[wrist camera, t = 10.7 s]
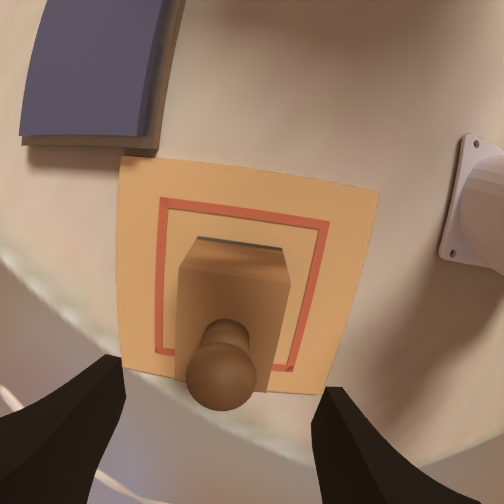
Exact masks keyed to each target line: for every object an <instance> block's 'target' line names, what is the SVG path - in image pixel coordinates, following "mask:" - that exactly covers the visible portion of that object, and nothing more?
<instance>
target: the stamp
mask: <svg viewBox="0 0 504 504" xmlns="http://www.w3.org/2000/svg"><path fill="white" fill-rule="evenodd" d="M290 287H291V280H290V277H289V273H288V269H287V265H286V261H285V257H284V254H283V250H282V248H279V247H272V246H265V245H259V244H252V243H245V242H238V241H231V240H224V239H216V238H209V237H202V236H198V237H197V238H196V240H195V242H194V243H193V245H192V246H191V248H190V250H189V251H188V253H187V255H186V256H185V258H184V260H183V261H182V263H181V265H180V266H179V271H178V288H177V307H176V332H175V380H177V381H183V382H186V383H187V387H188V390H189V392H190V394H191V395H192V397H193V398H194V399H195V400H196V401H197V402H198V403H199V404H201V405H202V406H204V407H206V408H208V409H211V410H215V411H229V410H233V409H235V408H238V407H240V406H241V405H243V404H244V403H245V402H246V401H247V400H248V399H249V398H250V397H251V395H252V393H253V392H264V393H266V390H267V386H268V382H269V378H270V374H271V370H272V366H273V362H274V358H275V354H276V349H277V345H278V341H279V336H280V332H281V328H282V323H283V319H284V314H285V310H286V305H287V301H288V296H289V292H290Z"/></svg>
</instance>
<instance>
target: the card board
mask: <svg viewBox="0 0 504 504" xmlns="http://www.w3.org/2000/svg"><path fill="white" fill-rule="evenodd" d="M379 196H380V193H378V192H374V191H370V190H365V189H360V188H356V187H351V186H346V185H341V184H336V183H331V182H326V181H321V180H315V179H310V178H304V177H299V176H293V175H287V174H281V173H274V172H268V171H262V170H255V169H248V168H241V167H234V166H226V165H218V164H210V163H201V162H192V161H183V160H173V159H162V158H151V157H138V156H121V160H120V172H119V185H118V203H117V230H116V279H117V306H118V323H119V337H120V348H121V358H122V367H125V368H129V369H133V370H138V371H142V372H147V373H152V374H157V375H162V376H167V377H172V378H175V332H176V307H177V288H178V271H179V266H180V265H181V263H182V261H183V260H184V258H185V256H186V255H187V253H188V251H189V250H190V248H191V246H192V245H193V243H194V242H195V240H196V238H197V237H198V236H202V237H209V238H216V239H224V240H231V241H238V242H245V243H252V244H259V245H265V246H272V247H279V248H282V250H283V254H284V257H285V261H286V265H287V269H288V273H289V277H290V280H291V287H290V292H289V296H288V301H287V305H286V310H285V314H284V319H283V323H282V328H281V332H280V336H279V341H278V345H277V349H276V354H275V358H274V362H273V366H272V370H271V374H270V378H269V382H268V386H267V390H266V391H275V392H287V393H302V394H321V393H322V390H323V387H324V385H325V382H326V380H327V377H328V374H329V371H330V369H331V366H332V363H333V360H334V358H335V355H336V352H337V349H338V346H339V343H340V340H341V337H342V334H343V331H344V328H345V325H346V322H347V319H348V315H349V312H350V309H351V306H352V302H353V299H354V296H355V292H356V289H357V285H358V282H359V278H360V275H361V271H362V267H363V263H364V260H365V256H366V252H367V248H368V244H369V240H370V236H371V232H372V227H373V223H374V219H375V214H376V210H377V205H378V201H379Z"/></svg>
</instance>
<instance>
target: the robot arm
mask: <svg viewBox="0 0 504 504" xmlns="http://www.w3.org/2000/svg"><path fill="white" fill-rule="evenodd" d="M474 141H475V143H476V146H475V147H474ZM452 250H453V253H452V254H451V255H450V252H451V251H452ZM438 253H439V256H440V257H441V258H442V259H444V260H448V261H454V262H459V263H464V264H470V265H475V266H480V267H486V268H491V269H493V270H495V271H496V272H498V273H500V274H501V275H503V276H504V150H503V149H502V148H500V147H498V146H496V145H494V144H492V143H490V142H488V141H485V140H483V139H481V138H479V137H477V136H475V135H473V134H467V133H466V134H464V135H463V137H462V142H461V149H460V156H459V162H458V168H457V173H456V179H455V184H454V189H453V194H452V199H451V203H450V208H449V212H448V216H447V220H446V224H445V228H444V232H443V236H442V240H441V243H440V247H439V251H438ZM125 400H126V393H125V385H124V378H123V369H122V360H121V358H120V357H116V356H112V355H108V354H105V355H104V356H102V357H101V358H100V359H98V360H97V361H96V362H95V363H93V364H92V365H90V366H89V367H88V368H86V369H85V370H84V371H82V372H81V373H80V374H78V375H77V376H75V377H74V378H73V379H71V380H70V381H69V382H67V383H66V384H64V385H63V386H61V387H60V388H58V389H57V390H55V391H54V392H52V393H50V394H49V395H47V396H46V397H44V398H42V399H40V400H39V401H37V402H35V403H33V404H31V405H29V406H27V407H25V408H23V409H21V410H19V411H16V412H13V413H11V414H9V415H6V416H3V417H1V418H0V504H87V500H88V496H89V492H90V489H91V485H92V482H93V479H94V475H95V472H96V470H97V467H98V465H99V463H100V460H101V458H102V456H103V454H104V452H105V450H106V447H107V445H108V443H109V441H110V439H111V437H112V435H113V432H114V430H115V428H116V426H117V424H118V421H119V419H120V415H121V413H122V410H123V406H124V403H125ZM311 436H312V449H313V454H314V459H315V465H316V470H317V475H318V480H319V485H320V491H321V496H322V503H323V504H481V503H480V502H479V501H477V500H474V499H471V498H469V497H467V496H464V495H462V494H459V493H457V492H455V491H453V490H451V489H449V488H447V487H446V486H444V485H442V484H440V483H438V482H437V481H435V480H434V479H432V478H431V477H429V476H428V475H426V474H425V473H423V472H422V471H420V470H419V469H418V468H416V467H415V466H414V465H412V464H411V463H410V462H409V461H408V460H407V459H405V458H404V457H403V456H402V455H401V454H400V453H398V452H397V451H396V450H395V449H394V448H393V447H392V446H391V445H390V444H389V443H388V442H387V441H386V440H385V439H384V438H383V437H382V436H381V434H380V433H379V432H378V431H377V430H376V429H375V428H374V427H373V425H372V424H371V423H370V422H369V421H368V419H367V418H366V417H365V416H364V415H363V413H362V412H361V411H360V410H359V408H358V407H357V406H356V404H355V403H354V402H353V401H352V399H351V398H350V397H349V395H348V394H347V393H346V392H345V390H344V389H343V388H342V387H326V388H325V390H324V393H323V395H322V398H321V400H320V403H319V405H318V408H317V410H316V412H315V415H314V417H313V420H312V422H311Z"/></svg>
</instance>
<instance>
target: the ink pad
mask: <svg viewBox="0 0 504 504" xmlns="http://www.w3.org/2000/svg"><path fill="white" fill-rule="evenodd" d="M185 1H186V0H47V3H46V6H45V9H44V12H43V15H42V18H41V21H40V25H39V28H38V32H37V35H36V39H35V43H34V47H33V51H32V55H31V60H30V64H29V69H28V74H27V79H26V85H25V91H24V97H23V104H22V111H21V119H20V129H19V136H22V145H21V146H25V145H82V146H111V147H129V148H145V149H159V141H160V133H161V126H162V119H163V112H164V105H165V99H166V93H167V87H168V81H169V75H170V70H171V64H172V59H173V54H174V49H175V44H176V40H177V35H178V31H179V26H180V22H181V18H182V13H183V9H184V5H185Z"/></svg>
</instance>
